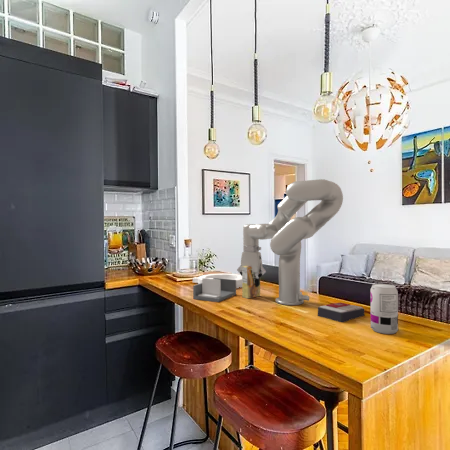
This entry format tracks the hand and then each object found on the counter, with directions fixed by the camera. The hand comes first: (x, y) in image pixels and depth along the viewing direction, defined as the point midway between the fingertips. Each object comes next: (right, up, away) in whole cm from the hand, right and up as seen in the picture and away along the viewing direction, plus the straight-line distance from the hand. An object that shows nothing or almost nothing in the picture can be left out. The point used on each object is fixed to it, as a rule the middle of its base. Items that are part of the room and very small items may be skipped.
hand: (251, 285), depth 158 cm
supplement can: (+40, -6, -51) cm, 65 cm away
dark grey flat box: (+32, -6, -33) cm, 47 cm away
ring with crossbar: (-15, -6, +33) cm, 36 cm away
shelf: (-18, -6, +1) cm, 19 cm away
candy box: (0, -6, 0) cm, 6 cm away
